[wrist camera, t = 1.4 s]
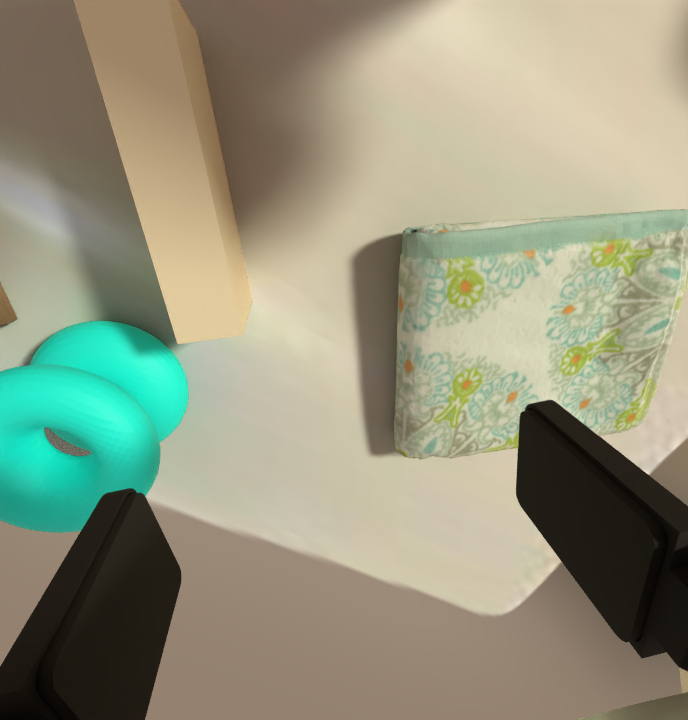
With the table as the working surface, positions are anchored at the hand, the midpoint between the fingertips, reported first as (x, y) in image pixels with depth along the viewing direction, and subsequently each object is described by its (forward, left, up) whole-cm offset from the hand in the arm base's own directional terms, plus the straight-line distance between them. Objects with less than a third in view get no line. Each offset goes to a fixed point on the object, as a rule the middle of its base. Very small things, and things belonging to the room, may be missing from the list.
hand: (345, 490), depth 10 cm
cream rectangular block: (-7, -6, -20) cm, 22 cm away
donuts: (+5, -14, -20) cm, 25 cm away
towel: (+6, +16, -20) cm, 27 cm away
